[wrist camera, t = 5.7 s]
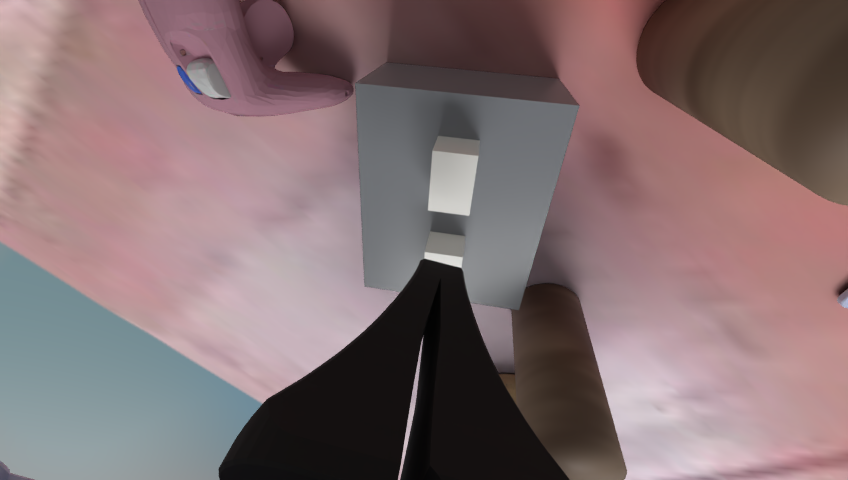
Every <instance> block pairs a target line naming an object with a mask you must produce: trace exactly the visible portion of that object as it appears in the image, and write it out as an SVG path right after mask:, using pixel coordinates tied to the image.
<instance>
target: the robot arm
mask: <svg viewBox="0 0 848 480" xmlns="http://www.w3.org/2000/svg"><path fill="white" fill-rule="evenodd" d="M837 301H838V303H839V304H840V305H841V306H843V307H845V308H848V289H847V290H846V291H844V292H843V293H842V294H841V295H840V296H839V297H838V299H837ZM423 335H424V336H423ZM422 338H423V345H422V354H421V363H420V372H419V381H418V390H417V398H416V405H415V411H414V416H413V421H412V426H411V431H410V436H409V441H408V446H407V450H406V455H405V460H404V465H403V469H402V474H401V479H400V480H570V479H569V478H568V477H567V475H566V474H565V473H564V471H563V470H562V469H561V468H560V466H559V465H558V464H557V462H556V461H555V460H554V459H553V457H552V456H551V455H550V453H549V452H548V451H547V450H546V448H545V447H544V446H543V444H542V443H541V441H540V440H539V439H538V437H537V436H536V434H535V433H534V431H533V430H532V428H531V427H530V425H529V424H528V423H527V421H526V419H525V418H524V416H523V415H522V413H521V411H520V410H519V408H518V406H517V405H516V403H515V402H514V400H513V398H512V397H511V395H510V393H509V392H508V390H507V388H506V386H505V385H504V383H503V381H502V379H501V377H500V375H499V373H498V371H497V369H496V367H495V365H494V363H493V361H492V359H491V357H490V355H489V353H488V350H487V348H486V346H485V343H484V341H483V338H482V336H481V333H480V331H479V328H478V325H477V323H476V320H475V317H474V313H473V310H472V307H471V304H470V300H469V297H468V293H467V289H466V284H465V279H464V272H463V270H462V268H460V267H456V266H452V265H448V264H444V263H440V262H436V261H432V260H428V259H422V260H420V263H419V265H418V267H417V269H416V271H415V273H414V274H413V276H412V277H411V279H410V280H409V282H408V283H407V284H406V286H405V287H404V288H403V290H402V291H401V292H400V293H399V295H398V296H397V297H396V299H395V300H394V301H393V302H392V303H391V304H390V305H389V306H388V307H387V309H386V310H385V311H384V312H383V313H382V314H381V315H380V316H379V317H378V318H377V319H376V320H375V321H374V322H373V323H372V324H371V325H370V326H369V327H368V328H367V329H366V330H365V331H364V332H363V333H361V334H360V335H359V336H358V337H357V338H356V339H354V340H353V341H352V342H351V343H350V344H348V345H347V346H346V347H345V348H344V349H342V350H341V351H340V352H339V353H337V354H336V355H335V356H333V357H332V358H331V359H329V360H328V361H326V362H325V363H323V364H322V365H321V366H319V367H318V368H316V369H315V370H313V371H312V372H311V373H309V374H308V375H306V376H305V377H303V378H301V379H300V380H298V381H297V382H295V383H293V384H292V385H290V386H288V387H287V388H285V389H283V390H282V391H280V392H278V393H277V394H275V395H273V396H271V397H270V398H268V399H267V400H266V401H265V402H264V403H263V404H262V405H261V407H260V408H259V409H258V410H257V411H256V412H255V413H254V415H253V416H252V417H251V418H250V420H249V421H248V423H247V424H246V425H245V426H244V428H243V429H242V431H241V432H240V433H239V435H238V436H237V438H236V439H235V441H234V443H233V444H232V446H231V448H230V450H229V451H228V453H227V455H226V457H225V459H224V460H223V462H222V464H221V465H220V467H219V478H220V480H398V475H399V470H400V465H401V459H402V452H403V446H404V439H405V433H406V427H407V420H408V414H409V408H410V402H411V396H412V390H413V385H414V379H415V373H416V368H417V362H418V357H419V351H420V346H421V341H422ZM0 480H34V479H30V478H26V477H23V476H19V475H15V474H12V473H10V470H9V469H8V467H7V466H6V465H5V464H4V463H2V462H1V461H0Z"/></svg>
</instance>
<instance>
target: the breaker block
mask: <svg viewBox="0 0 848 480" xmlns="http://www.w3.org/2000/svg"><path fill="white" fill-rule="evenodd" d="M355 88H356V110H357V132H358V154H359V176H360V198H361V219H362V241H363V263H364V285H365V287H371V288H378V289H384V290H391V291H397V292H401V291H402V290H403V288H404V287H405V286H406V284H407V283H408V282H409V280H410V279H411V277H412V276H413V274H414V273H415V271H416V269H417V267H418V265H419V263H420V260H422V259H428V260H432V261H436V262H440V263H444V264H448V265H452V266H456V267H460V268H462V270H463V272H464V279H465V284H466V289H467V293H468V297H469V300H470V303H475V304H481V305H488V306H494V307H501V308H507V309H514V310H519V308H520V305H521V301H522V298H523V295H524V291H525V288H526V284H527V281H528V278H529V274H530V271H531V268H532V264H533V261H534V257H535V254H536V251H537V247H538V244H539V241H540V237H541V234H542V230H543V227H544V224H545V220H546V217H547V214H548V210H549V207H550V203H551V200H552V197H553V193H554V190H555V187H556V183H557V180H558V176H559V173H560V170H561V166H562V163H563V160H564V156H565V153H566V149H567V146H568V143H569V139H570V136H571V133H572V129H573V126H574V122H575V119H576V116H577V112H578V109H579V104H578V103H577V102H576V100H575V99H574V98H573V96H572V95H571V94H570V92H569V91H568V90H567V88H566V87H565V86H564V84H563V83H562V82H561V81H560V79H558V78H547V77H537V76H526V75H515V74H505V73H494V72H483V71H473V70H462V69H452V68H441V67H430V66H420V65H409V64H398V63H388V62H386V63H385V64H383V65H382V66H380V67H379V68H377V69H376V70H374V71H373V72H371V73H370V74H368V75H367V76H365V77H364V78H362V79H361V80H359V81H358V82H356V83H355Z"/></svg>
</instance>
